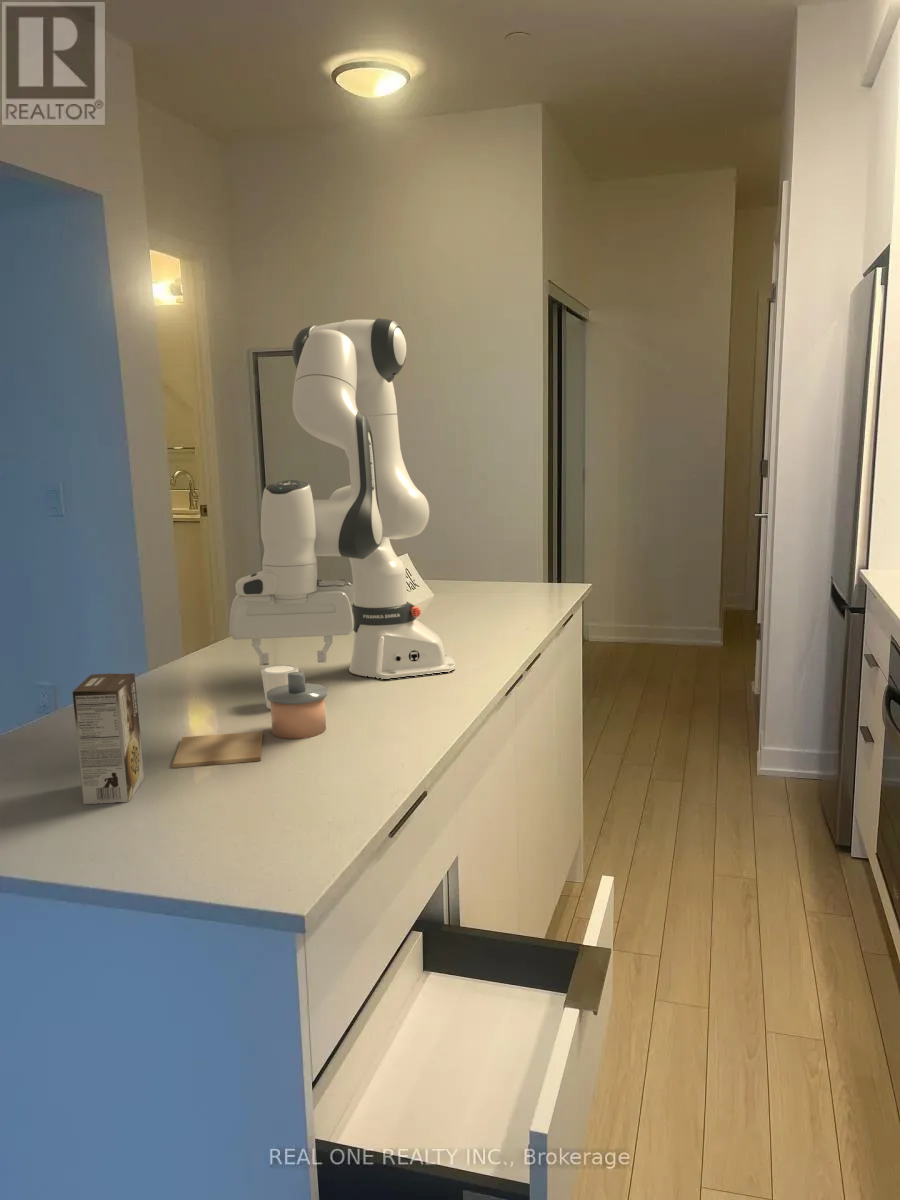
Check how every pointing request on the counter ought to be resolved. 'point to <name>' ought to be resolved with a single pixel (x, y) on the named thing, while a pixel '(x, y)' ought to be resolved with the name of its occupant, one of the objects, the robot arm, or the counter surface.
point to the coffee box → (108, 738)
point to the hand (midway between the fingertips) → (293, 663)
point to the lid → (296, 691)
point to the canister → (298, 719)
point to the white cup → (275, 677)
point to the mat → (219, 749)
